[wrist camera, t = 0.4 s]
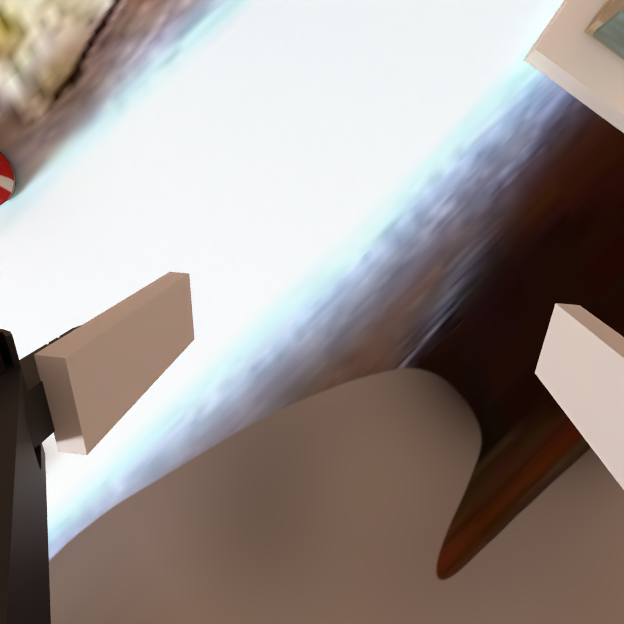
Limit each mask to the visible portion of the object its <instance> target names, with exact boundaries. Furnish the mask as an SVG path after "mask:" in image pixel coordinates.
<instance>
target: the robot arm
mask: <svg viewBox="0 0 624 624" xmlns="http://www.w3.org/2000/svg"><path fill="white" fill-rule="evenodd" d="M193 340H194V329H193V317H192V304H191V291H190V279H189V274H188V273H175V272H169V273H167V274H166V275H164V276H162V277H161V278H159V279H157V280H156V281H154V282H153V283H151V284H149V285H148V286H146V287H144V288H143V289H141V290H139V291H138V292H136V293H134V294H133V295H131V296H129V297H128V298H126V299H125V300H123V301H121V302H120V303H118V304H116V305H115V306H113V307H111V308H110V309H108V310H106V311H105V312H103V313H101V314H100V315H98V316H97V317H95V318H93V319H92V320H90V321H88V322H87V323H85V324H83V325H81V326H78V327H75V328H72V329H71V330H69V331H67V332H66V333H64V334H62V335H61V336H60V337H59V338H56V339H54V340H52V341H51V342H49V344H48V345H47V344H46V345H44V346H42V347H41V348H39V349H37V350H36V351H34V352H32V353H31V354H29V355H27V356H26V357H24V358H22V359H21V360H19V358H18V354H17V351H16V347H15V344H14V340H13V336H12V334H11V332H10V331H7V330H3V329H0V624H51V618H50V617H51V616H50V588H49V558H48V529H47V500H46V471H45V453H44V449H43V446H42V442H43V441H44V440H45V439H46V438H47V437H49V436H50V435H51V434H52V433H53V432H54V435H55V439H56V443H57V447H58V451H60V452H68V453H75V454H82V455H88V453H89V452H90V451H91V450H92V449H93V448H94V447H95V446H96V445H97V444H98V443H99V442H100V441H101V439H102V438H103V437H104V436H105V435H106V434H107V433H108V432H109V431H110V430H111V429H112V428H113V426H114V425H115V424H116V423H117V422H118V421H119V420H120V419H121V418H122V417H123V416H124V415H125V413H126V412H127V411H128V410H129V409H130V408H131V407H132V406H133V405H134V404H135V403H136V402H137V401H138V399H139V398H140V397H141V396H142V395H143V394H144V393H145V392H146V391H147V390H148V389H149V388H150V386H151V385H152V384H153V383H154V382H155V381H156V380H157V379H158V378H159V377H160V376H161V375H162V373H163V372H164V371H165V370H166V369H167V368H168V367H169V366H170V365H171V364H172V363H173V362H174V361H175V359H176V358H177V357H178V356H179V355H180V354H181V353H182V352H183V351H184V350H185V349H186V348H187V346H188V345H189V344H190V343H191V342H192V341H193ZM535 374H536V375H537V376H538V378H539V379H540V380H541V382H542V383H543V384H544V386H545V387H546V388H547V389H548V391H549V392H550V393H551V395H552V396H553V397H554V399H555V400H556V401H557V403H558V404H559V405H560V407H561V408H562V409H563V411H564V412H565V413H566V415H567V416H568V417H569V418H570V420H571V421H572V422H573V424H574V425H575V426H576V428H577V429H578V430H579V432H580V433H581V434H582V436H583V437H584V438H585V440H586V441H587V442H588V443H589V445H590V446H591V447H592V449H593V450H594V451H595V452H596V454H597V455H598V457H599V458H600V459H601V461H602V462H603V463H604V464H605V466H606V467H607V469H608V470H609V471H610V472H611V474H612V475H613V476H614V477H615V479H616V480H617V482H618V483H619V484H620V486H621V487H622V488H623V490H624V337H622V336H621V335H620V334H618V333H617V332H615V331H614V330H613V329H611V328H610V327H609V326H607V325H606V324H604V323H603V322H602V321H600V320H599V319H597V318H596V317H595V316H593V315H592V314H591V313H589V312H588V311H586V310H585V309H584V308H582V307H581V306H580V305H569V304H557V303H556V304H555V307H554V310H553V314H552V317H551V320H550V324H549V327H548V331H547V334H546V337H545V341H544V344H543V347H542V351H541V354H540V357H539V361H538V364H537V367H536V371H535Z"/></svg>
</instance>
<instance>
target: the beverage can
mask: <svg viewBox="0 0 624 624" xmlns="http://www.w3.org/2000/svg"><path fill="white" fill-rule="evenodd" d="M15 185H16V177H15V173H14V170H13V168H12V166H11V165H10V163H9V162H8V160H7V159H6V158H5V156H4V155H3V154H1V153H0V205H1V204H3V203H4V202H5V201H7V200H8V199H9V198H10V197H11V195H12V194H13V192H14V189H15Z"/></svg>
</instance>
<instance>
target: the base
mask: <svg viewBox="0 0 624 624" xmlns="http://www.w3.org/2000/svg"><path fill="white" fill-rule="evenodd" d="M605 1H606V0H564V2H563V3H562V5H561V6H560V8H559V9H558V11H557V12H556V13H555V15H554V16H553V18H552V19H551V21H550V22H549V24H548V25H547V27H546V28H545V29H544V31H543V32H542V34H541V35H540V37H539V38H538V40H537V41H536V43H535V44H534V45H533V47H532V48H531V50H530V51H529V53H528V54H527V56H526V57H525V59H524V60H525V61H526V62H527V63H529V64H530V65H531V66H533V67H534V68H536V69H537V70H538V71H540V72H541V73H542V74H544V75H545V76H546V77H548V78H549V79H551V80H552V81H553V82H555V83H556V84H557V85H559V86H560V87H561V88H563V89H564V90H566V91H567V92H568V93H570V94H571V95H572V96H574V97H575V98H576V99H578V100H579V101H581V102H582V103H583V104H585V105H586V106H587V107H589V108H590V109H592V110H593V111H594V112H596V113H597V114H598V115H600V116H601V117H602V118H604V119H605V120H607V121H608V122H609V123H611V124H612V125H613V126H615V127H616V128H617V129H619V130H620V131H622V132H623V133H624V61H623V60H622V59H620V58H619V57H618V56H616V55H615V54H613V53H612V52H611V51H609V50H608V49H607V48H605V47H604V46H603V45H601V44H600V43H599V42H597V41H596V40H595V39H593V38H592V37H591V36H589V35H588V34H587V33H585V32H584V31H585V30H586V28H587V27H588V25H589V24H590V23H591V21H592V20H593V18H594V17H595V16H596V14H597V13H598V11H599V10H600V8H601V7H602V6H603V4H604V3H605Z"/></svg>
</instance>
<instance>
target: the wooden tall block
mask: <svg viewBox="0 0 624 624" xmlns="http://www.w3.org/2000/svg"><path fill="white" fill-rule="evenodd" d="M584 32H585V33H587V34H588V35H589V36H591V37H592V38H593V39H595V40H596V41H597V42H599V43H600V44H601V45H603V46H604V47H605V48H607V49H608V50H609V51H611V52H612V53H613V54H615V55H616V56H618V57H619V58H620V59H622V60H623V61H624V0H606V1H605V3H604V4H603V6H602V7H601V8H600V10H599V11H598V13H597V14H596V16H595V17H594V18H593V20H592V21H591V23H590V24H589V25H588V27H587V28H586V30H585V31H584Z"/></svg>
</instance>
